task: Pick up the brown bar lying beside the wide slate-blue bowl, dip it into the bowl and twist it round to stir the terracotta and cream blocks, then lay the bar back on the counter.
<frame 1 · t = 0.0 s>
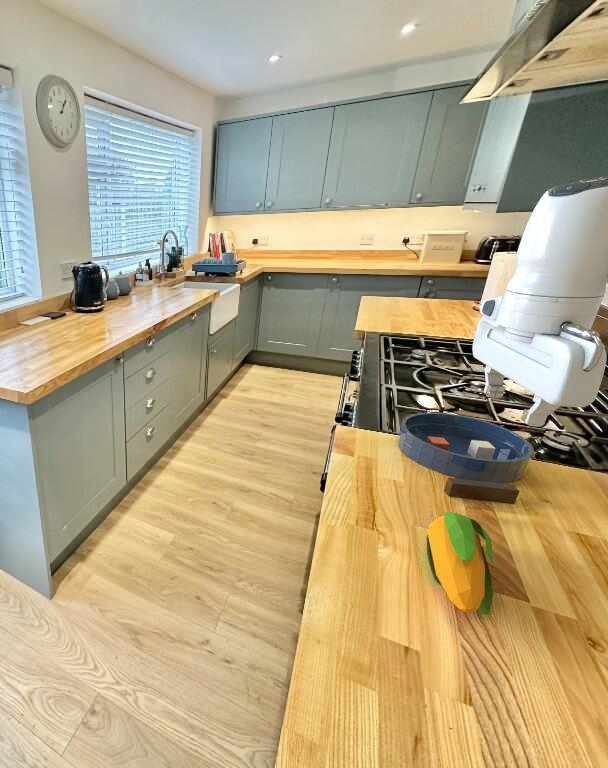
hand: (510, 409, 60), 24 cm above the table, tool pointing down, fingers open, 8 cm apart
brown bar: (477, 499, 78), on the table
corn: (455, 579, 62), on the table
bowl: (456, 456, 91), on the table
terracotta block: (435, 452, 92), point 1 cm above the table, touching bowl
cream block: (479, 456, 89), point 1 cm above the table, touching bowl
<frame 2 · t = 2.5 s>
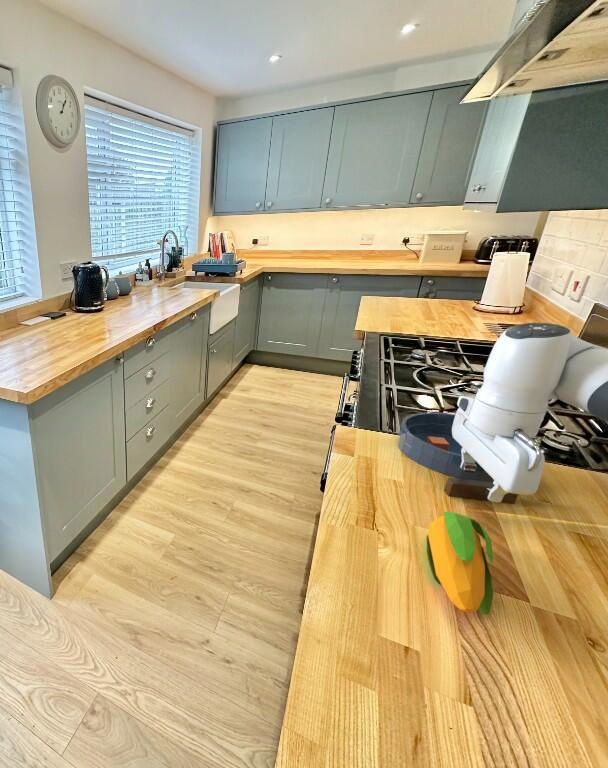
hand: (478, 484, 77), 3 cm above the table, tool pointing down, fingers open, 8 cm apart
nothing on the table moved.
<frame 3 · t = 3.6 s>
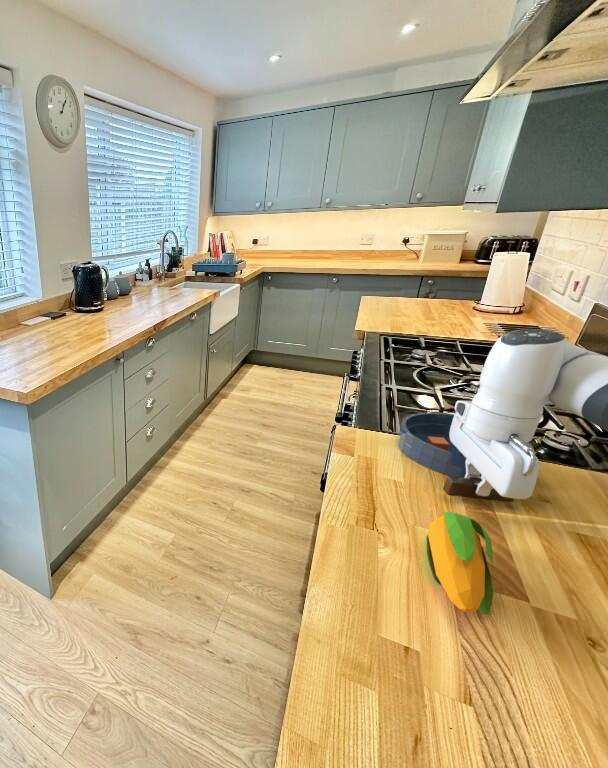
hand: (475, 488, 77), 2 cm above the table, tool pointing down, fingers closed on brown bar, 2 cm apart
brown bar: (476, 497, 78), on the table, touching gripper
everything else where it was.
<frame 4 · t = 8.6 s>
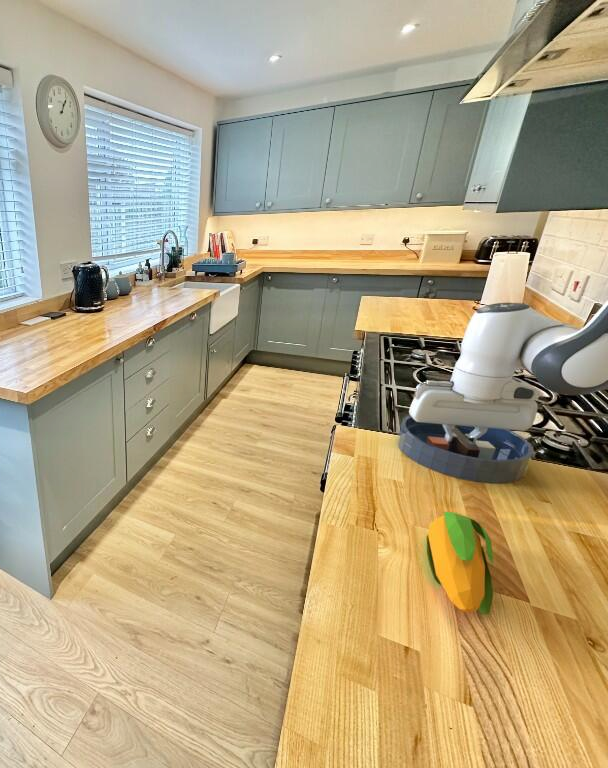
hand: (459, 442, 90), 3 cm above the table, tool pointing down, fingers closed on brown bar, 2 cm apart
brown bar: (458, 452, 90), point 1 cm above the table, touching gripper
terracotta block: (435, 452, 92), point 1 cm above the table, touching bowl, gripper
everything else where it was.
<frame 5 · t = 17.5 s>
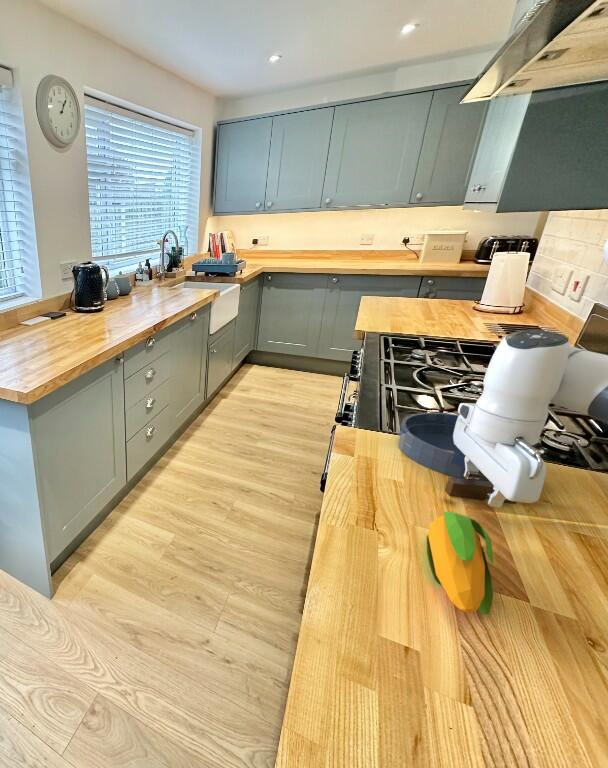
hand: (481, 491, 77), 2 cm above the table, tool pointing down, fingers open, 6 cm apart
brown bar: (478, 499, 78), on the table
terracotta block: (442, 465, 87), point 1 cm above the table, touching bowl
cream block: (476, 446, 93), point 1 cm above the table, touching bowl
everything else where it was.
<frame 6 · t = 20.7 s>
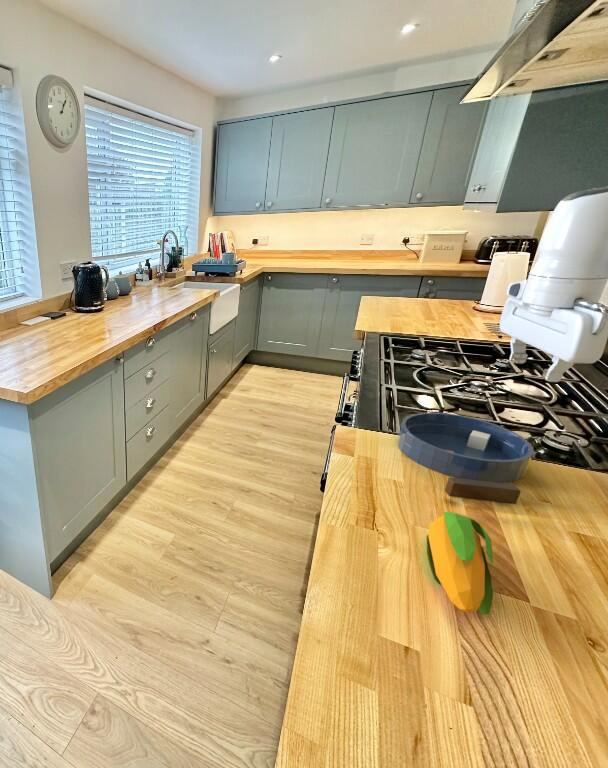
hand: (532, 370, 74), 23 cm above the table, tool pointing down, fingers open, 8 cm apart
nothing on the table moved.
at the end: terracotta block moved 5.7 cm from its start; cream block moved 4.8 cm from its start; terracotta block inside the target area in the bowl (7.4 cm from its centre), point 0.6 cm above the bowl's base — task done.
